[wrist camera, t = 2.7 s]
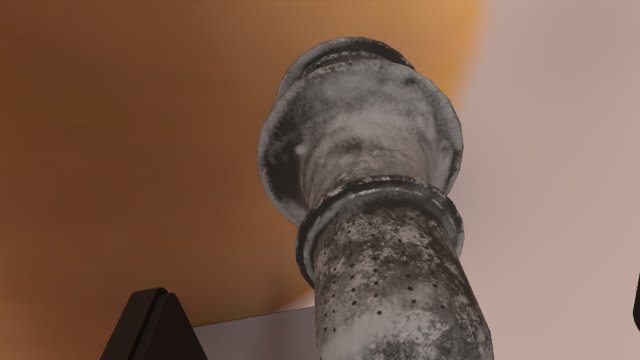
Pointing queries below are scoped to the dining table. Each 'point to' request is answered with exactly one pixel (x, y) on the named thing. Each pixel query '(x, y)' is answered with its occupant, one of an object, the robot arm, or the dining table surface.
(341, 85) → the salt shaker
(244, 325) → the stand
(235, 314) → the dining table surface
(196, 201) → the dining table surface
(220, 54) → the dining table surface
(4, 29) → the dining table surface
